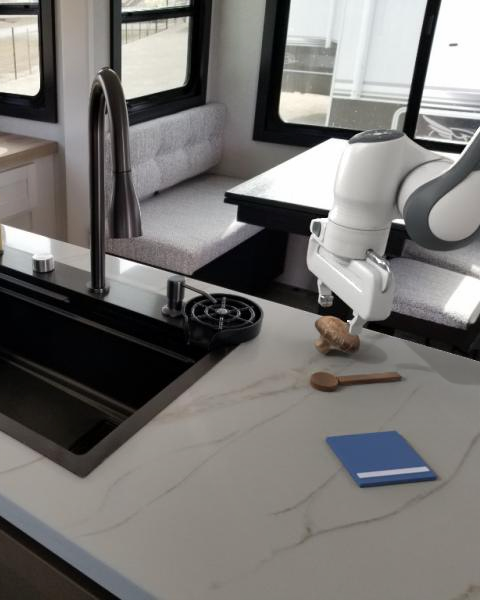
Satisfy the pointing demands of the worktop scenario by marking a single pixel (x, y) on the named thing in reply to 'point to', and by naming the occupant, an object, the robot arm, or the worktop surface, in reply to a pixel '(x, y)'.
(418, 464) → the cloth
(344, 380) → the spoon
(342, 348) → the mushroom
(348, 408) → the worktop surface
